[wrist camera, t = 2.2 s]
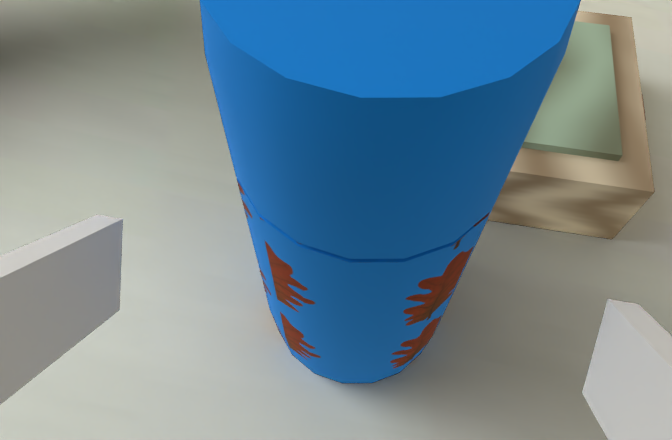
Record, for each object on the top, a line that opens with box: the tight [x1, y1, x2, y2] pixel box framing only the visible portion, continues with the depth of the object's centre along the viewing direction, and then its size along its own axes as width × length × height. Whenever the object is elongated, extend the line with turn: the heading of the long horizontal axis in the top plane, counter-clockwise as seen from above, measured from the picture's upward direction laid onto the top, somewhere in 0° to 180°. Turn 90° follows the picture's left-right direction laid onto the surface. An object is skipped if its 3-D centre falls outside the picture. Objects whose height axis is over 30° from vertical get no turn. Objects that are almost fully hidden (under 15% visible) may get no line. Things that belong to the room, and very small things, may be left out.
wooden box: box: [487, 11, 654, 239], centre depth 41 cm, size 17×16×7 cm
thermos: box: [200, 0, 581, 383], centre depth 26 cm, size 11×11×25 cm
